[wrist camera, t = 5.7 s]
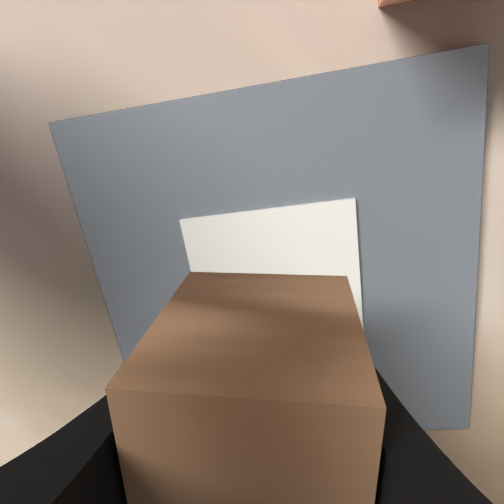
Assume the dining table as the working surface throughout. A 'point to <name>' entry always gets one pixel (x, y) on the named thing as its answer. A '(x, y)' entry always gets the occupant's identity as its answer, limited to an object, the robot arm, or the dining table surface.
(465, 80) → the board
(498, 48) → the dining table surface
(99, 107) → the dining table surface
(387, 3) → the terracotta block
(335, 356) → the walnut block
